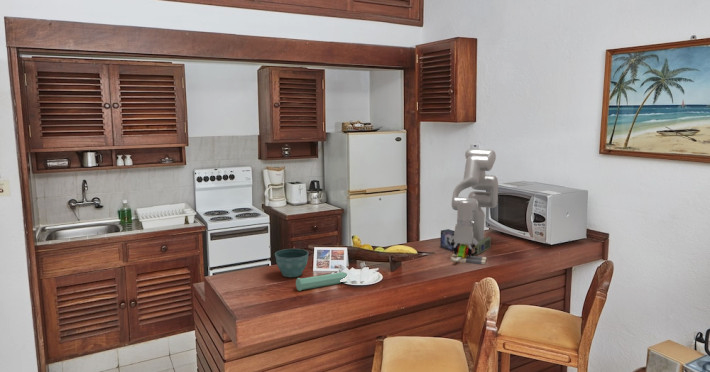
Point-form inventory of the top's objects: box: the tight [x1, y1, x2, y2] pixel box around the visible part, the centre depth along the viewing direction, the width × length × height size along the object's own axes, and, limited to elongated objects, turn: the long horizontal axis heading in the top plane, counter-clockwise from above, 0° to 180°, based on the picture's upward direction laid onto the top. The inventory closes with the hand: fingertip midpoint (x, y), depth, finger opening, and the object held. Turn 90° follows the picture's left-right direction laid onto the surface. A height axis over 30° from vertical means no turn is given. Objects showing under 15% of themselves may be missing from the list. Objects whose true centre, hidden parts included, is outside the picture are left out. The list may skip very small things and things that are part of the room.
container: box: [295, 271, 348, 292], centre depth 228 cm, size 6×6×25 cm
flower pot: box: [274, 248, 309, 278], centre depth 242 cm, size 16×16×11 cm
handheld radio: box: [471, 236, 492, 256], centre depth 287 cm, size 7×3×25 cm
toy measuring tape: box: [451, 244, 469, 263], centre depth 269 cm, size 6×20×7 cm, turn 147°
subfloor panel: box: [450, 253, 487, 265], centre depth 270 cm, size 9×18×2 cm, turn 72°
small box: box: [439, 228, 461, 252], centre depth 293 cm, size 11×6×10 cm, turn 33°
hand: (462, 254), depth 271 cm, fingers closed on toy measuring tape, 6 cm apart
